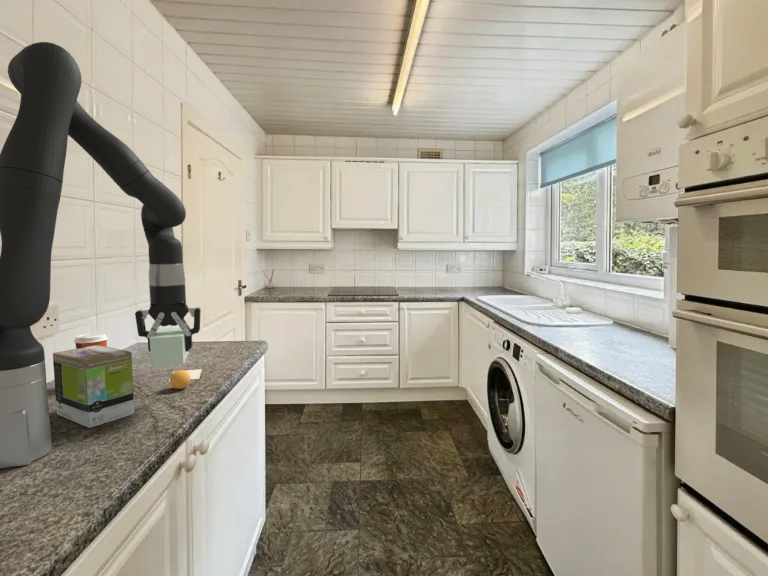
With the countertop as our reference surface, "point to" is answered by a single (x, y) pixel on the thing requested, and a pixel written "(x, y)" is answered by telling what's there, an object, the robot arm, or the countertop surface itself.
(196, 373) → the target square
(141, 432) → the countertop surface
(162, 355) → the mint green rectangular block
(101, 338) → the paper cup
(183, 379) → the ball
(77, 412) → the tea box
